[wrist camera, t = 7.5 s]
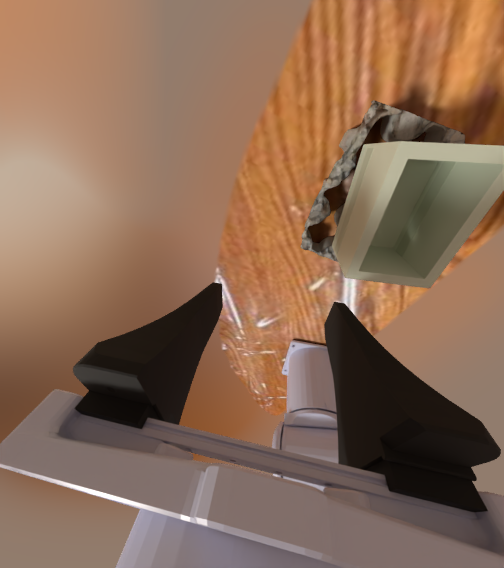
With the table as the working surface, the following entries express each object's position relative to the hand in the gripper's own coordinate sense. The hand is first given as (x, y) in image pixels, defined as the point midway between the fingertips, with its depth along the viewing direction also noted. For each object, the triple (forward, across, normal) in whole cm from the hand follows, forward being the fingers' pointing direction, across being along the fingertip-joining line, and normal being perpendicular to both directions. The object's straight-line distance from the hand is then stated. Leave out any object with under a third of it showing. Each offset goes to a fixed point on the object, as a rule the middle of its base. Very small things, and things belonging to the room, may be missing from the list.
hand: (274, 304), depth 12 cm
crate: (+7, -7, -5) cm, 11 cm away
